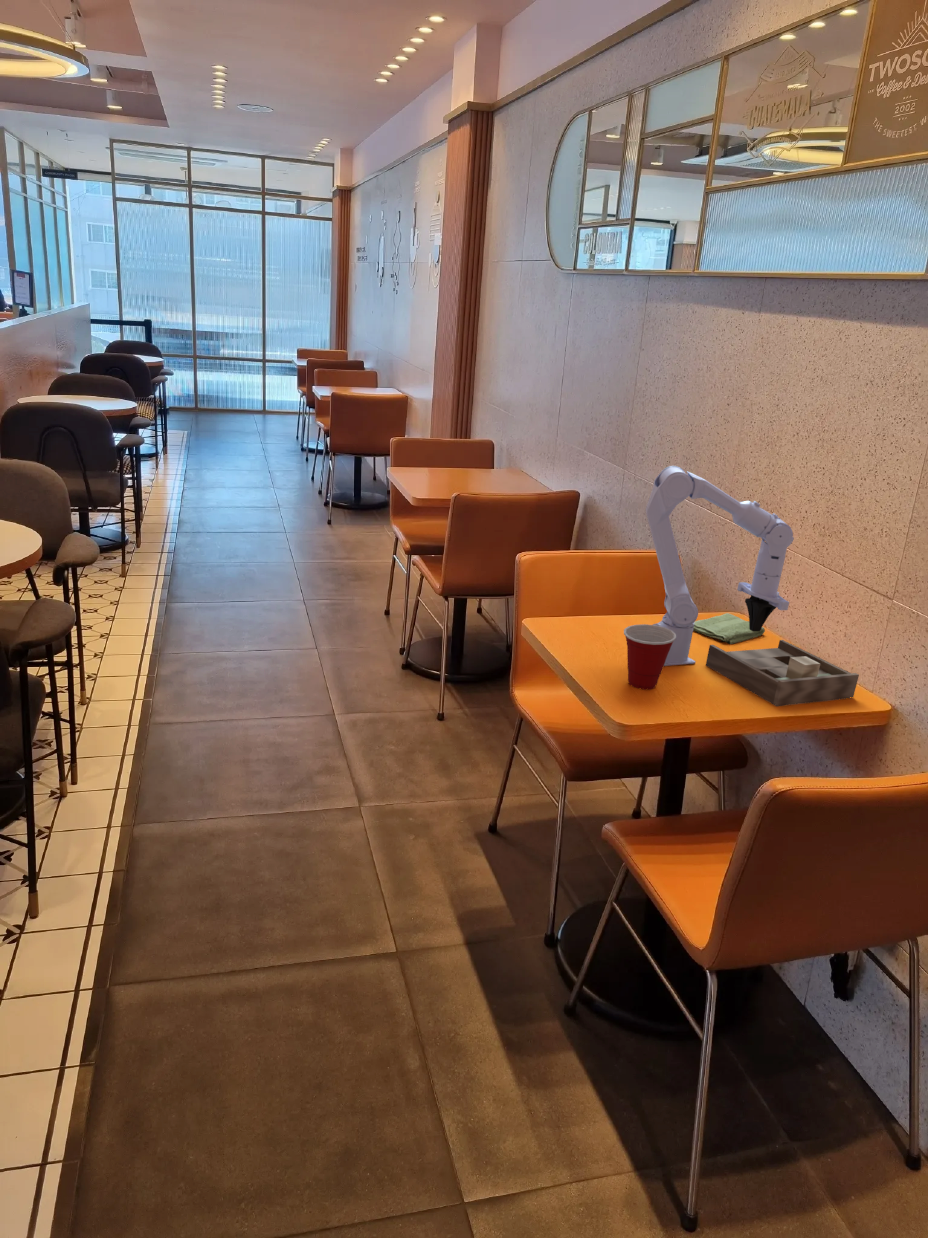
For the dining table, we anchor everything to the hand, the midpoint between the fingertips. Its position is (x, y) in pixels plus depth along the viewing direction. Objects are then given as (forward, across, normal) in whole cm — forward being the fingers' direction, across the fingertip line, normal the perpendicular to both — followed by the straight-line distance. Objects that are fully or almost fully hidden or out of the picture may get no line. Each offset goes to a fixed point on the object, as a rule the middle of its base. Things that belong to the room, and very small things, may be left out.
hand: (754, 630), depth 204 cm
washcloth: (+10, +22, -13) cm, 28 cm away
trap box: (+9, -8, -2) cm, 12 cm away
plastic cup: (+10, -4, +32) cm, 34 cm away
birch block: (+6, -14, -2) cm, 16 cm away
